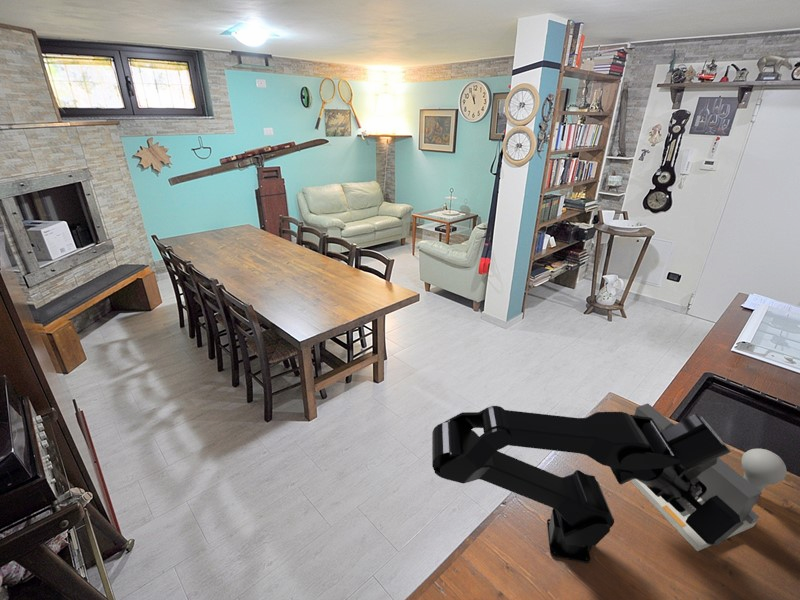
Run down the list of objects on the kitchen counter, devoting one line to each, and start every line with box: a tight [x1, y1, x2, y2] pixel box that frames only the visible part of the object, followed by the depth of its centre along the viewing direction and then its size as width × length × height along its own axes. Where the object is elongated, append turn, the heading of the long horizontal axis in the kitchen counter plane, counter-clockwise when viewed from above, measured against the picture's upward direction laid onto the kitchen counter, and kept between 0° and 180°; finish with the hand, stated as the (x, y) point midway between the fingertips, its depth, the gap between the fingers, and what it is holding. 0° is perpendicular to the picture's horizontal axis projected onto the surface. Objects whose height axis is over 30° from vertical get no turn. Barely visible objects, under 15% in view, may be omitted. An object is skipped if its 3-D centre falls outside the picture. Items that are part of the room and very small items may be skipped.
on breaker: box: [633, 403, 673, 431], centre depth 82 cm, size 3×10×8 cm, turn 17°
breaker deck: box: [629, 479, 760, 552], centre depth 78 cm, size 13×24×3 cm, turn 17°
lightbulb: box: [740, 448, 787, 492], centre depth 73 cm, size 6×6×11 cm
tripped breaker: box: [697, 457, 763, 521], centre depth 71 cm, size 3×10×8 cm, turn 17°
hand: (687, 491), depth 68 cm, fingers closed
